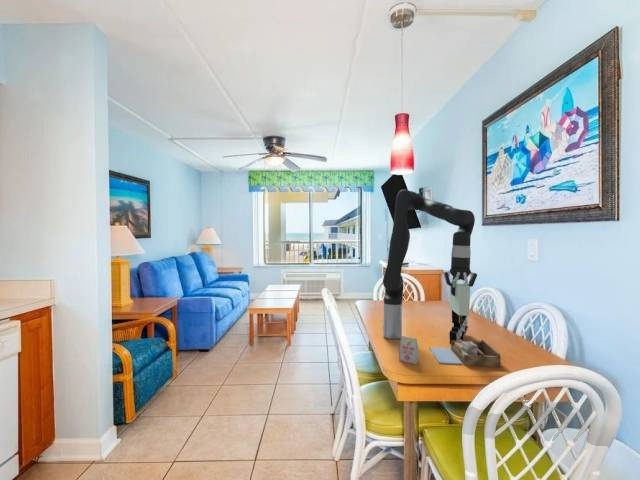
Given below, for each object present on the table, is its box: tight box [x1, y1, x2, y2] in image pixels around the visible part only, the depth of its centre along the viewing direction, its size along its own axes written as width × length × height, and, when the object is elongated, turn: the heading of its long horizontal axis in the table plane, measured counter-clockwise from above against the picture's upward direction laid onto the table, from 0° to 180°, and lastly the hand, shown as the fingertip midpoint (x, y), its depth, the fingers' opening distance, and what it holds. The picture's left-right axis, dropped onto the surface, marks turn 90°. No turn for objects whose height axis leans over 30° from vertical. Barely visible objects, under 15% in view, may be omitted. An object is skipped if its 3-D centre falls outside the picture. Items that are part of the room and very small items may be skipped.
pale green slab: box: [448, 280, 471, 317], centre depth 141 cm, size 4×14×12 cm, turn 174°
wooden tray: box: [450, 339, 501, 368], centre depth 140 cm, size 14×19×5 cm
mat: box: [428, 346, 463, 366], centre depth 142 cm, size 9×18×1 cm, turn 174°
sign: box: [448, 309, 469, 345], centre depth 164 cm, size 22×3×20 cm, turn 143°
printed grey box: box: [398, 335, 419, 365], centre depth 136 cm, size 4×7×10 cm, turn 53°
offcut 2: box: [461, 340, 477, 355], centre depth 136 cm, size 4×6×4 cm
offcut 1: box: [454, 342, 462, 354], centre depth 145 cm, size 4×7×4 cm, turn 3°
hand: (459, 295), depth 141 cm, fingers closed on pale green slab, 4 cm apart
